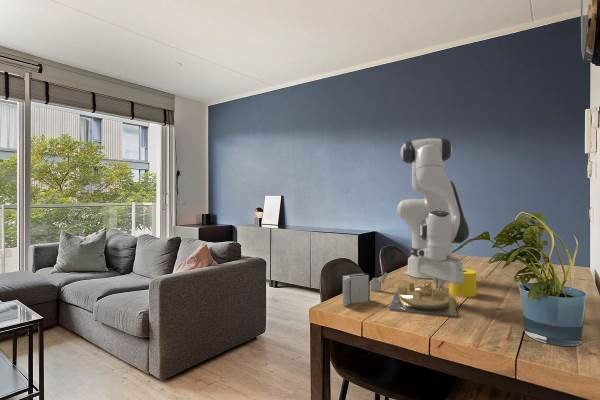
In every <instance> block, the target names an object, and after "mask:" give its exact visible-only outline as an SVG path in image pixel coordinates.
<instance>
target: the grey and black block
mask: <svg viewBox="0 0 600 400" xmlns="http://www.w3.org/2000/svg"><path fill="white" fill-rule="evenodd" d="M370 291H371V279H370V274H368V273H358V274H357V273H356V274H348V275H343V276H342V307H344V308H345V307H347V306H348V305H350V304H355V303H356V304H357V303H363V302H369V301H370V298H371V297H370V295H371V294H370V293H371V292H370Z"/></svg>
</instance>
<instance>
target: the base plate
mask: <svg viewBox="0 0 600 400" xmlns="http://www.w3.org/2000/svg"><path fill="white" fill-rule="evenodd" d="M389 311H392V312H393V311H395V312H404V313H410V314H411V313H414V314H420V315H429V316H430V315H431V316H438V317H440V316H441V317H446V318H447V317H448V318H456V319H457V318H458V313H457V307H456V303H455V298H454V296H449V306H448V307H447V308H444V309H437V310H427V309H418V308H413V307H409V306H406V305H403V304H401V303H400V302H399V301H398V291H395V292H394V296H393V298H392V301H391V303H390V306H389Z"/></svg>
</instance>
